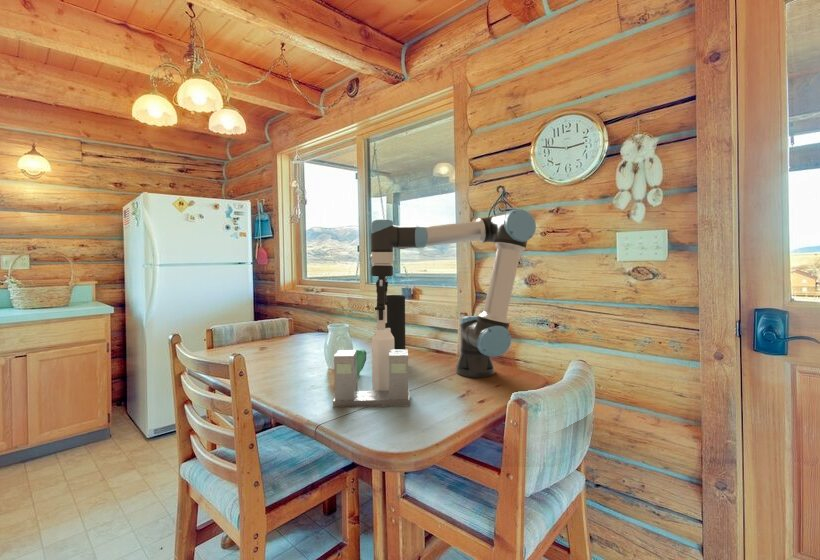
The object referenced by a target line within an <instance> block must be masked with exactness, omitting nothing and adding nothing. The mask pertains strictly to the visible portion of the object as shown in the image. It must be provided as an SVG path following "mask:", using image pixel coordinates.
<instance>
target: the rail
mask: <svg viewBox="0 0 820 560" xmlns="http://www.w3.org/2000/svg"><path fill="white" fill-rule="evenodd" d="M357 350H358V349H338V350H337V352H336V353H335V354H334V356H333V363H334V366H333V367H334V368H333V369H334V373H333V375H334V376H333V377H334V399H333V400H332V407H333V408H361V407H362V408H364V407H365V408H366V407H367V408H370V407H371V408H373V407H375V408H376V407H379V408H380V407H382V408H384V407H411V394H410V390H409V349H406V348H405V349H396V350H390V351H389V390H388V391H373V390H358V379H357Z"/></svg>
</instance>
